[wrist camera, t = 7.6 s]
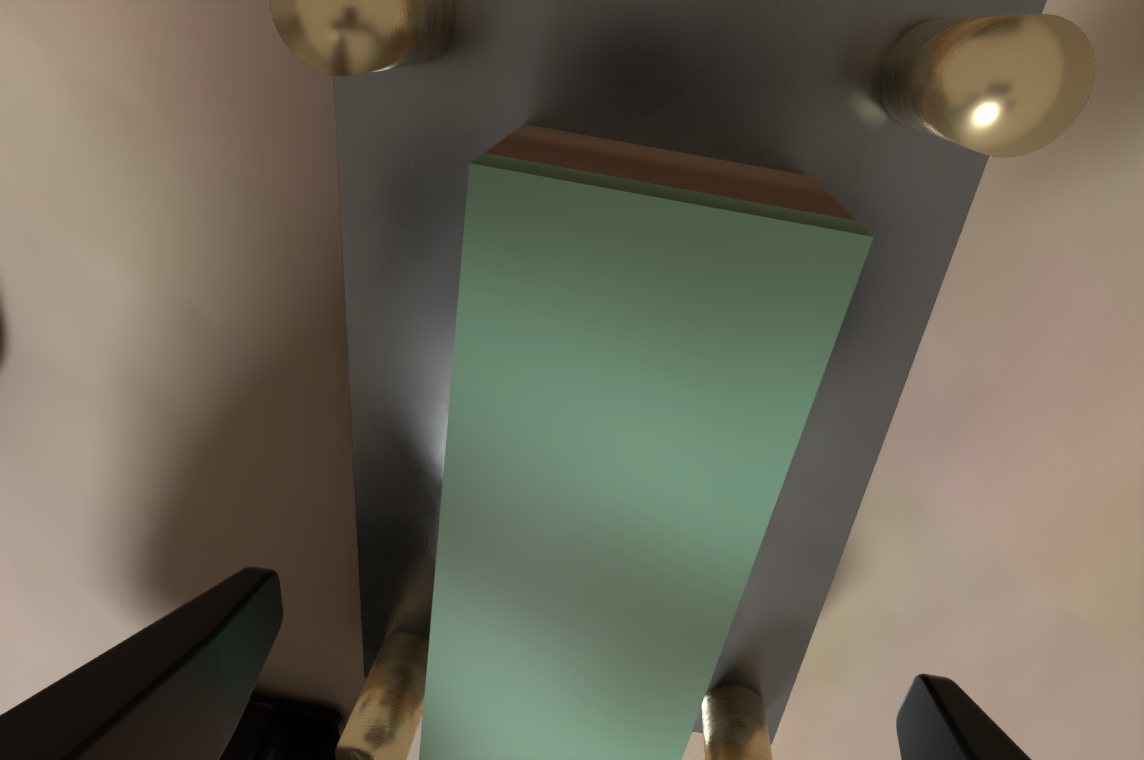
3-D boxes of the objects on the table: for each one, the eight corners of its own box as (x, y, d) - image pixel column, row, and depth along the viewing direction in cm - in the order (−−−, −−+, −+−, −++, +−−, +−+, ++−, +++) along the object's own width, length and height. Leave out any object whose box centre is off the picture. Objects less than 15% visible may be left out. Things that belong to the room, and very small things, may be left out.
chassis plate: (765, 705, 20) (791, 864, 16) (380, 643, 20) (317, 782, 16) (1010, 1, 11) (1182, -13, 8) (354, -72, 12) (219, -119, 8)
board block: (524, 123, 12) (470, 163, 8) (808, 175, 12) (873, 236, 8) (466, 616, 18) (418, 764, 14) (660, 654, 17) (661, 814, 14)
